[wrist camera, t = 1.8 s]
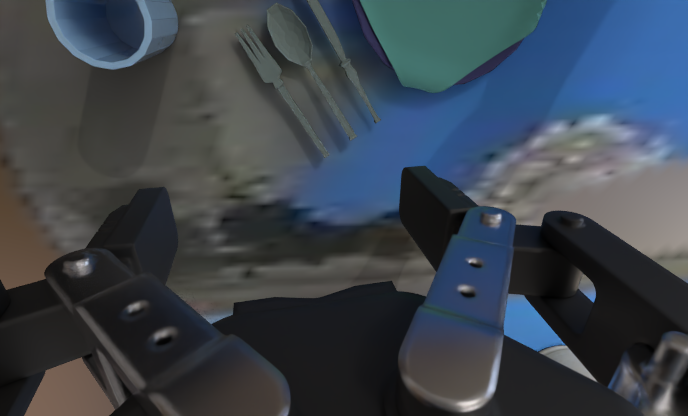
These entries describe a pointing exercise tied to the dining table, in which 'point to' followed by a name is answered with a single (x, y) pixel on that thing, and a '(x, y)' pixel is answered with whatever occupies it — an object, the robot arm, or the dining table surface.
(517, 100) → the dining table surface
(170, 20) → the cup
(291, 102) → the cutlery set
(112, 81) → the dining table surface
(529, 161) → the dining table surface
